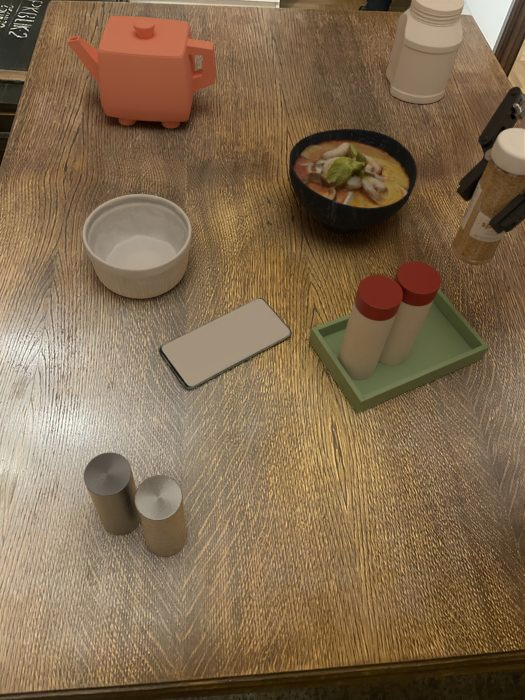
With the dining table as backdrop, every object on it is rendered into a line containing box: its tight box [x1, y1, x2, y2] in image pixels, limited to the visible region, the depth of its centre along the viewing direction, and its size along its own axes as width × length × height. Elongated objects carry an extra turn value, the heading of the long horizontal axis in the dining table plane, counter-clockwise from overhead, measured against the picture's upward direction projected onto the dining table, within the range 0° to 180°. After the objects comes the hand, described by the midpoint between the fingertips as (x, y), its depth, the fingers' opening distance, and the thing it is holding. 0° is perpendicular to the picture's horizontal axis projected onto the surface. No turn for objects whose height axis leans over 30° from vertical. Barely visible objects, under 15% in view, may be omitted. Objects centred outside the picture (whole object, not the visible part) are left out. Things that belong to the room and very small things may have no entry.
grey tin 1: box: [83, 452, 141, 536], centre depth 56 cm, size 4×4×10 cm
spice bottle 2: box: [379, 260, 442, 366], centre depth 68 cm, size 5×5×13 cm
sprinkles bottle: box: [450, 127, 525, 266], centre depth 58 cm, size 5×5×13 cm
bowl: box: [288, 128, 418, 235], centre depth 84 cm, size 17×17×10 cm
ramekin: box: [81, 193, 193, 300], centre depth 76 cm, size 13×13×7 cm
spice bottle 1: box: [337, 274, 403, 380], centre depth 66 cm, size 5×5×13 cm
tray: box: [308, 288, 490, 414], centre depth 73 cm, size 18×11×3 cm, turn 117°
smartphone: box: [158, 297, 292, 390], centre depth 73 cm, size 7×1×15 cm
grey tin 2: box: [134, 474, 188, 558], centre depth 55 cm, size 4×4×10 cm
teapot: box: [67, 15, 217, 129], centre depth 94 cm, size 22×13×14 cm, turn 89°
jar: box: [385, 0, 465, 105], centre depth 103 cm, size 12×10×15 cm
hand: (477, 212), depth 58 cm, fingers closed on sprinkles bottle, 4 cm apart
